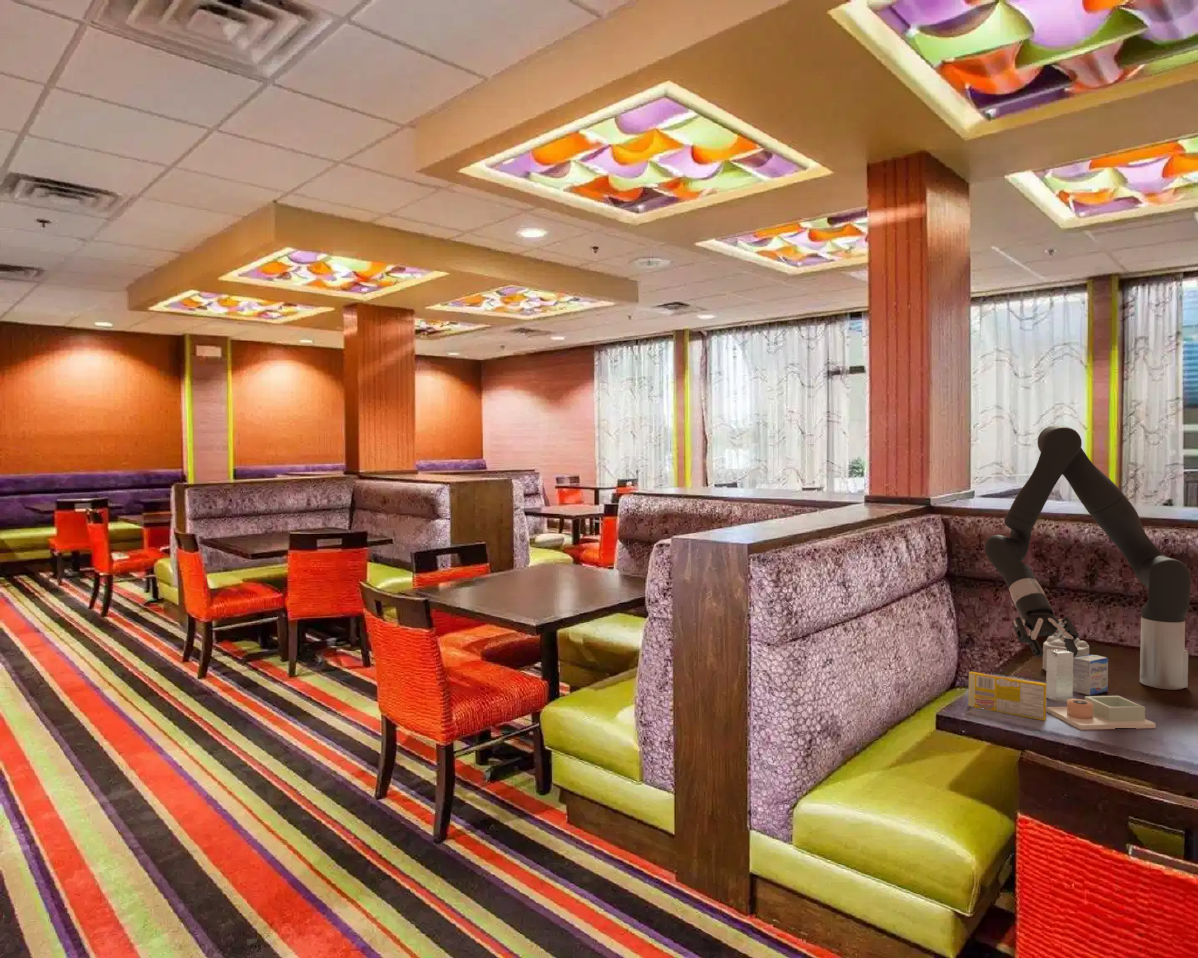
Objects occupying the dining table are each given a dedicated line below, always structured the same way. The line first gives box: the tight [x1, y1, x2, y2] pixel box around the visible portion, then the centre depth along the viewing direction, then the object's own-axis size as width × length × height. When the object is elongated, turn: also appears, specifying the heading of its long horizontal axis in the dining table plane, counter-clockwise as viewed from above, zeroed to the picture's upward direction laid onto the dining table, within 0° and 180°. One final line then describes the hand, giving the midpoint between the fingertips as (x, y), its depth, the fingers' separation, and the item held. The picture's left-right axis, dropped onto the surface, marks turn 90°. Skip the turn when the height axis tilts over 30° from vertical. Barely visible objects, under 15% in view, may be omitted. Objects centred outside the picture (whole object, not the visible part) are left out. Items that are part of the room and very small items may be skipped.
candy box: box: [967, 671, 1047, 722], centre depth 180 cm, size 16×2×8 cm, turn 50°
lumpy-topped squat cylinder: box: [1042, 635, 1090, 671], centre depth 216 cm, size 10×13×9 cm
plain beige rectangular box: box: [1045, 649, 1074, 704], centre depth 189 cm, size 4×4×12 cm
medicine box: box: [1073, 654, 1109, 696], centre depth 196 cm, size 8×4×9 cm, turn 117°
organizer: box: [1046, 695, 1157, 731], centre depth 175 cm, size 17×12×4 cm
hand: (1057, 655), depth 190 cm, fingers open, 8 cm apart
